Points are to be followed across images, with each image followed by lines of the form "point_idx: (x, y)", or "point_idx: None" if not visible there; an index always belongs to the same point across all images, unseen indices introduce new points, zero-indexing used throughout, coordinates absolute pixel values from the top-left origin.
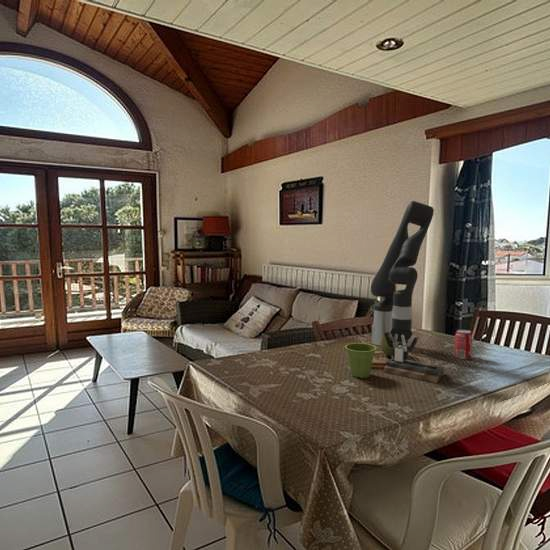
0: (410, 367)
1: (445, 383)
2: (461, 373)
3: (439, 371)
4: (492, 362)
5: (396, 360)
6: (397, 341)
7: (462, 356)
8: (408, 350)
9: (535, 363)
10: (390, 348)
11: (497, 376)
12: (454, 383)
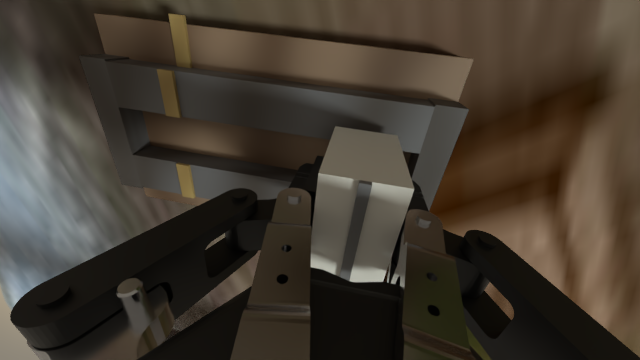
0: (266, 82)
1: (93, 43)
2: (124, 216)
3: (96, 93)
4: None
5: (381, 134)
6: (396, 288)
7: None
8: (267, 201)
9: None
10: None
11: (37, 231)
12: (69, 70)
